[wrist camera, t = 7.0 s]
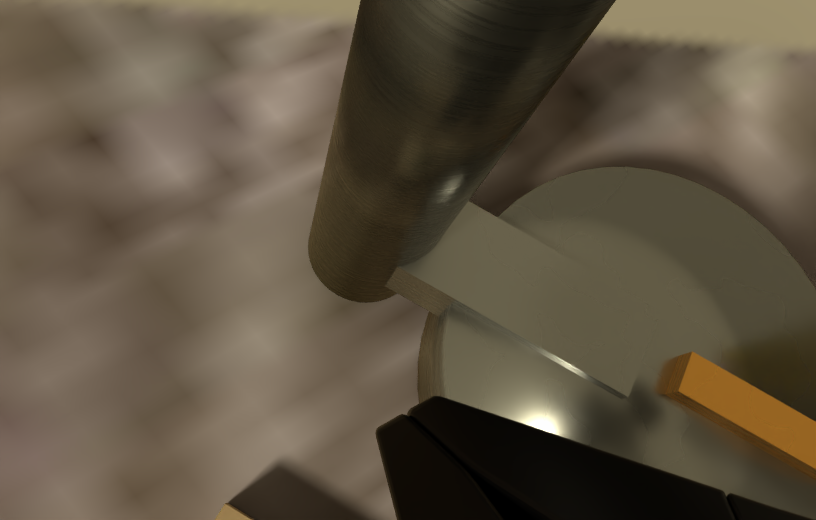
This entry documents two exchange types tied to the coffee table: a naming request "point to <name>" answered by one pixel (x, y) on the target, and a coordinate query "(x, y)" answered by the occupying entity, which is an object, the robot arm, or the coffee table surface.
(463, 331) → the grey piece
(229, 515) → the stand
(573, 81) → the coffee table surface
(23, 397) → the coffee table surface
